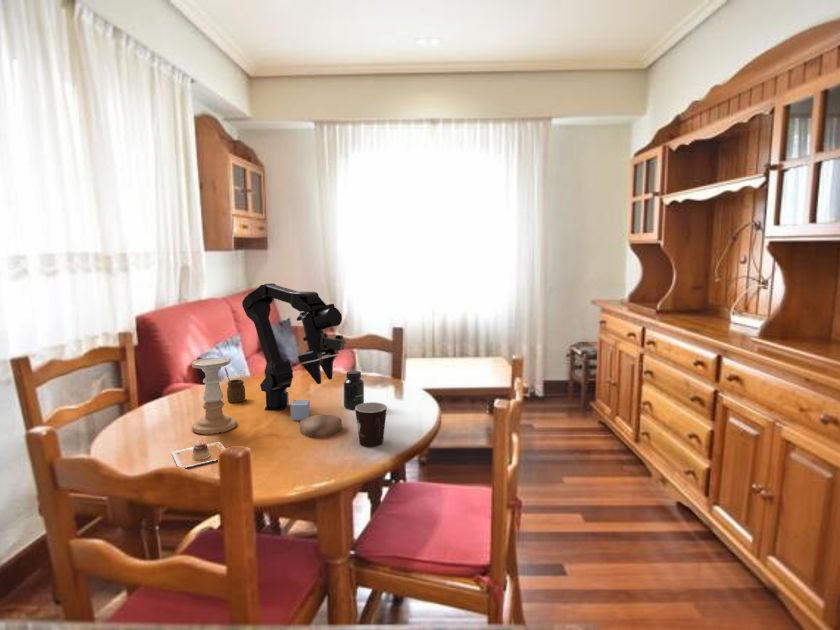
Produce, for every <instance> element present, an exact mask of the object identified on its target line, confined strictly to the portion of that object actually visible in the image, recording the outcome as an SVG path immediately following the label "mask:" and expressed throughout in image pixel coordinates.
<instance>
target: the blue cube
mask: <svg viewBox="0 0 840 630" xmlns="http://www.w3.org/2000/svg"><path fill="white" fill-rule="evenodd" d="M310 416H311V404H310V399H297V400H295V399H293V401H292V402H291V404H290V421H291V420H293V421H301V420H303V419H305V418H307V417H310Z"/></svg>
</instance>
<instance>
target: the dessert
mask: <svg viewBox="0 0 840 630" xmlns="http://www.w3.org/2000/svg"><path fill="white" fill-rule="evenodd" d="M216 443H219V444H221V446H222V447H221V448H223V449H226V447H225V446H224V445H223V443H222V442H221V441H217V442H216V441H215V442H211V443H207V444H206V443H205V442H203V441H201V440H200V439H199V440H197V441H196V442H195V445H194V446H193V447H189V448H188V447H187V448H183V449H178V450H175V451H174V450H173V451H170V453H171V455H172V457H173V459H174V461H175V463H176V466H177V467H178V466H180V467H184V468H185V469H188V468H187V467H189V468H193V467H197V466H200V465H201V464H202V465H205V463H206V464H210V463H213V462H212V461H215V462H217V461H216V460H217V458H216V459H211V460H209V461H204V462H200V463H196V464H191V465H187V466H184V465H183V466H181V465H182V464H183V463H182V464H180V463H181V462H182V461H181V462H180V461H179V460H178V458H177V456H176V454H175V453H177V452H182V451H185V450H193V451H192V453H191V458H192V460H193V459H202V460H204V459H203V458H206V457H208V456H209V455H210V454H211V452H210V450H209V448H208V446H209V445H213V444H216ZM223 449H222V450H223ZM191 458H190V459H191ZM208 458H209V457H208ZM206 459H207V458H206ZM209 462H210V463H209Z"/></svg>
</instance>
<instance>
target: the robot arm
mask: <svg viewBox="0 0 840 630" xmlns="http://www.w3.org/2000/svg"><path fill="white" fill-rule="evenodd" d="M275 300H278V301H280V302H284V303H288V304H290V306H291V307H292V309H294V310H296V311H298V312H300V313H299V315H298V316H297V318H296V321H297V322H299V321H301V323H302V327H303V331H304V337H303V338H302V339H303V341H306V344H307V349H308V350H306V351H305V352H300V353H299V354H298V356H297V361H298V364H301V366H302V367H303V368H304V369H305V370H306V371H307V372H308V374H309V375H310V377H312V379H313V380H314V382H315V383H316V384H317V385H321V384H322V374H321V369H322V371H323V372H324V374H325V376H326V378H327V380H329V381H330V380H332V379H333V371H334V361H335V360H336V359H337V358H338V355H339V354H340V353H339V352H341V350H342V351H344V349H345V345H346V343H347V342H346V339H345V338H344V335H340V334H338V335H337V334H336V335H335V337H329V336H328V333H326V332H325V331H324V330H326V329H327V330H328V329H331V328H334V327H337V326H339V325H341V324H342V321H343V314H342V313H341V311H340V310H339V309H338V307H337V308H336V306H335V304H334V303H329V304H326V303H325V302H324V300H323V299H322V298H320V296H319V293H317V292H316V291H299V290H298V291H297V290H294V289H291V288H287V287H284V286H281V285H277V284H275V283H273V282H272V283H262V284H260V285H259V286H258V287H257V288H256V289H254V290H253V291H251V292H250V293H248V294H247V295H245V296H244V298H243V300H242V302H241V303H242V304H241V305H242V308H243V311H244V313H245V315H246V316H247V318H249V319H250V321H252V323H253V324H254V328H255V330H256V333H257V337H258V340H259V343H260V345H261V349H262V352H263V355H264V358H265V362H266V364H265V368H264V379H263V380H262V381H261V383H260V384H259V386H260V391H261V392H265V408H264V410H265V411H266V410H276V411H277V410H285V409H286V408H287V407H288V405H289V404H290V403H289V392H288V391H287V389H288V388H291V386H292V382H293V378H294V370H293V369H292V366H291V365H292V364H291V361H289V360H285V359H283V358H282V355H281V352H280V350H279V346H278V343H277V339H276V337H275V334H274V331H273V330H274V329H273V327H272V324H271V322H270V315H271V310H272V309H271V304H273V302H274V301H275Z"/></svg>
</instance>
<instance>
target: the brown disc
mask: <svg viewBox="0 0 840 630" xmlns="http://www.w3.org/2000/svg"><path fill="white" fill-rule="evenodd" d="M342 422H343V421H342V418H341V417H339V416H338V415H334V414H333V415H332V414H317V415H310V416H309V417H307V418H305V419H303V420H300V421H299V432H300V434H301V435H302V434H303V435H302V436H304V435H305V436H304V437H307V436H308V437H309V438H325V437H331V436H335V435H337V434H339V433H341V431H342V430H343V423H342Z"/></svg>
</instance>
